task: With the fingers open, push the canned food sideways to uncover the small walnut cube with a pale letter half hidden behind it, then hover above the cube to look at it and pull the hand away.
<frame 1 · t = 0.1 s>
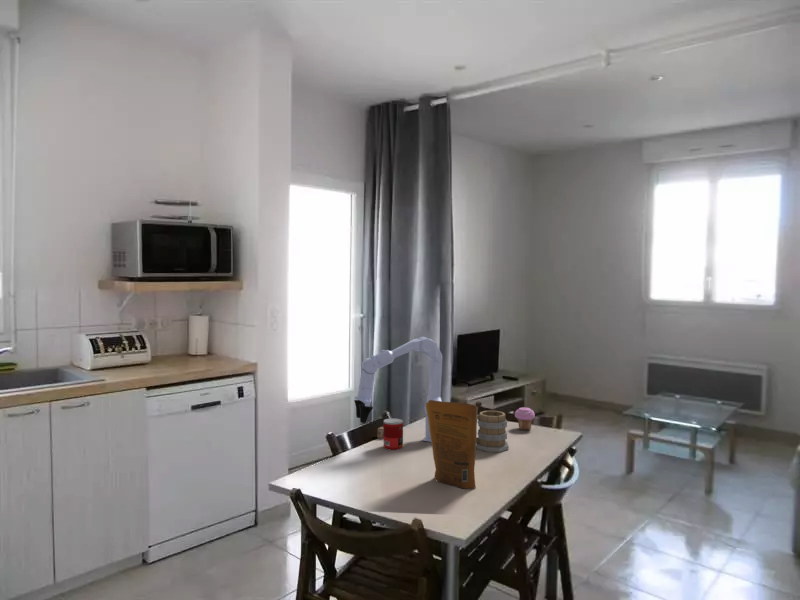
hand: (360, 420, 229), 11 cm above the table, tool pointing down, fingers open, 7 cm apart
tankard: (483, 447, 227), on the table
pancake mix bag: (452, 484, 186), on the table
canned food: (393, 447, 227), on the table
cupcake: (524, 429, 255), on the table
letter cube: (383, 437, 242), on the table
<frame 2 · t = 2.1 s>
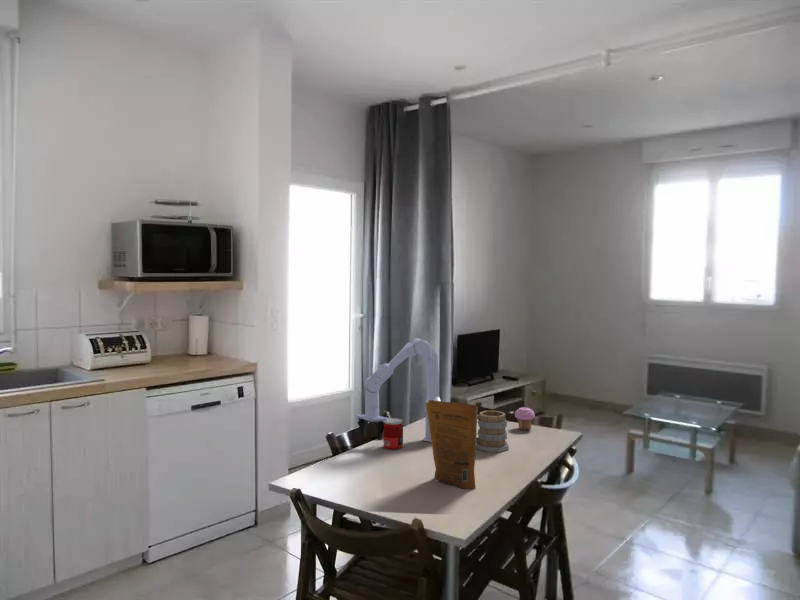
hand: (372, 438, 231), 2 cm above the table, tool pointing down, fingers open, 6 cm apart
canned food: (393, 447, 227), on the table, touching gripper
everything else where it was.
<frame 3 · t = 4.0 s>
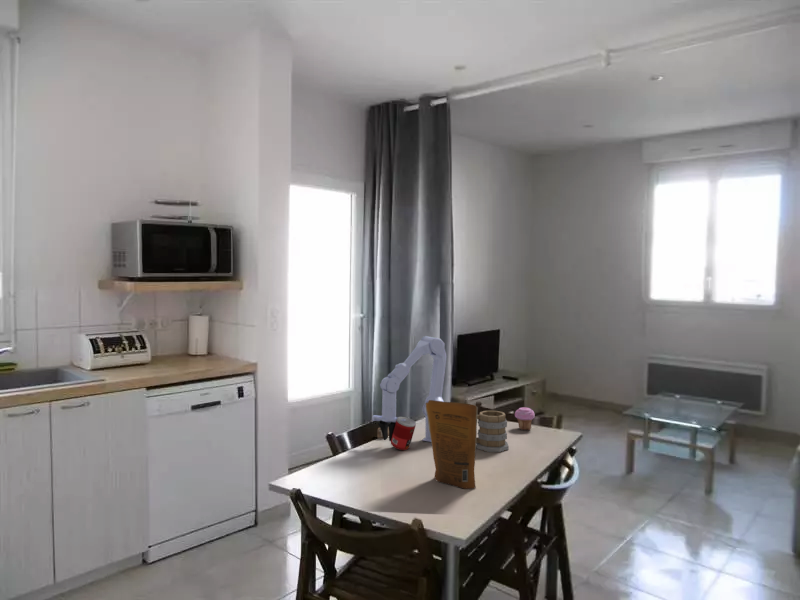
hand: (388, 440, 227), 3 cm above the table, tool pointing down, fingers closed
canned food: (399, 446, 226), point 1 cm above the table, touching gripper
everything else where it was.
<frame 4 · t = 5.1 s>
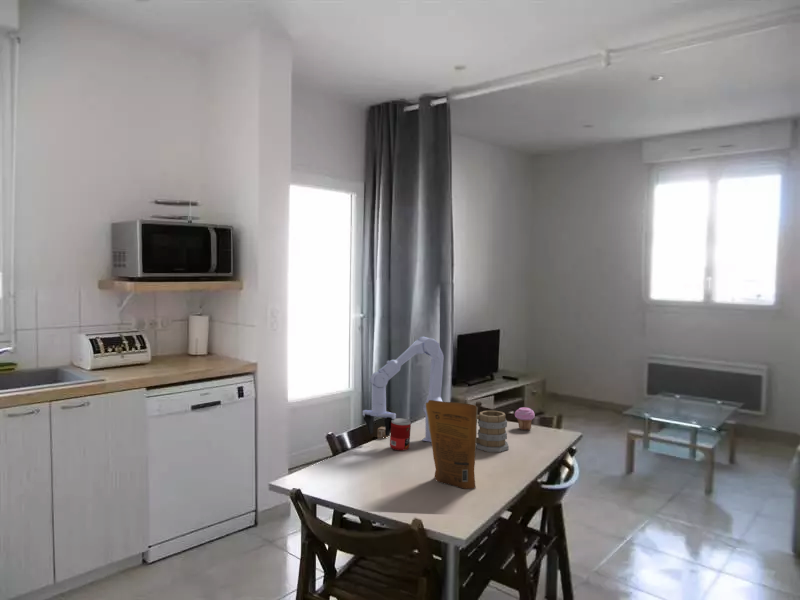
hand: (379, 434, 230), 5 cm above the table, tool pointing down, fingers open, 7 cm apart
canned food: (399, 448, 226), on the table
everything else where it was.
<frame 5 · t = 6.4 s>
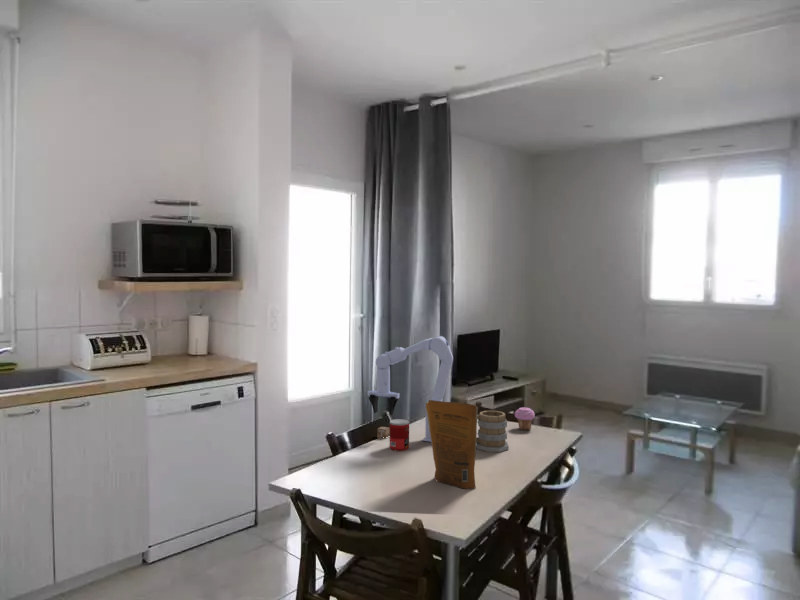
hand: (383, 413, 241), 10 cm above the table, tool pointing down, fingers open, 7 cm apart
nothing on the table moved.
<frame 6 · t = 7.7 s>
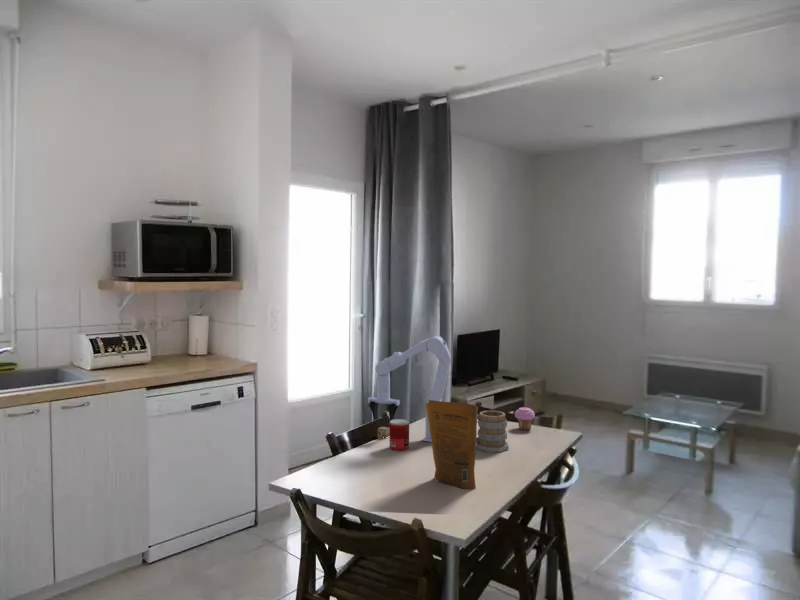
hand: (383, 420, 241), 7 cm above the table, tool pointing down, fingers open, 7 cm apart
nothing on the table moved.
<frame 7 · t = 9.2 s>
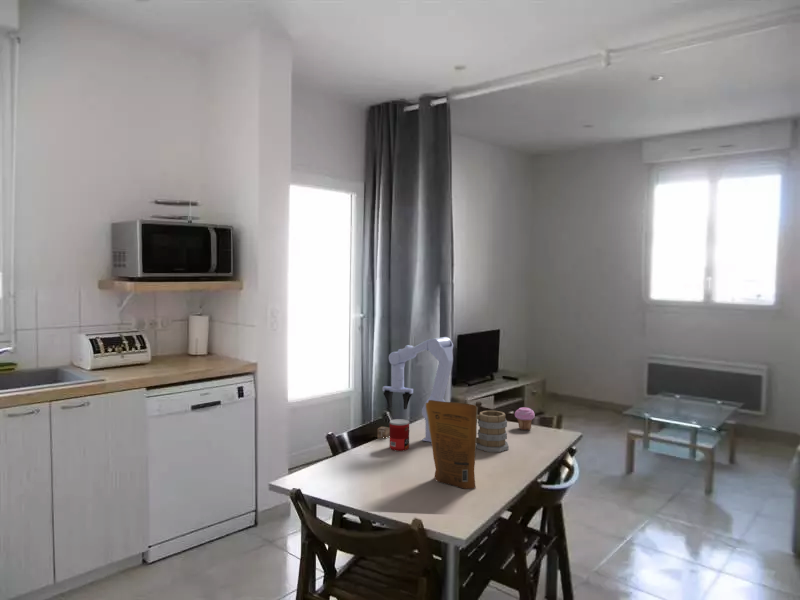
hand: (397, 408, 251), 10 cm above the table, tool pointing down, fingers open, 7 cm apart
nothing on the table moved.
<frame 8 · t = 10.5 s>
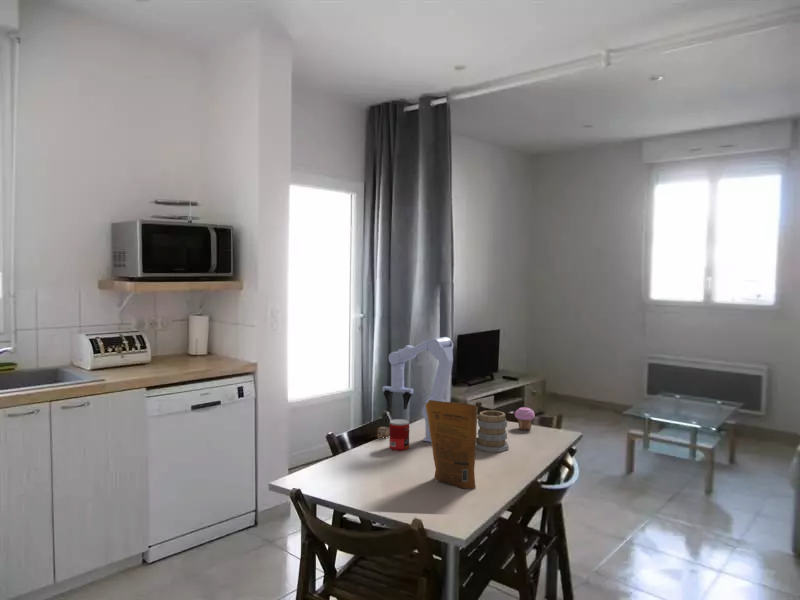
hand: (397, 408, 251), 10 cm above the table, tool pointing down, fingers open, 7 cm apart
nothing on the table moved.
at the end: canned food inside the target area (3.7 cm from its centre), on the table; canned food tilted 0°; letter cube moved 0.1 cm from its start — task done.
